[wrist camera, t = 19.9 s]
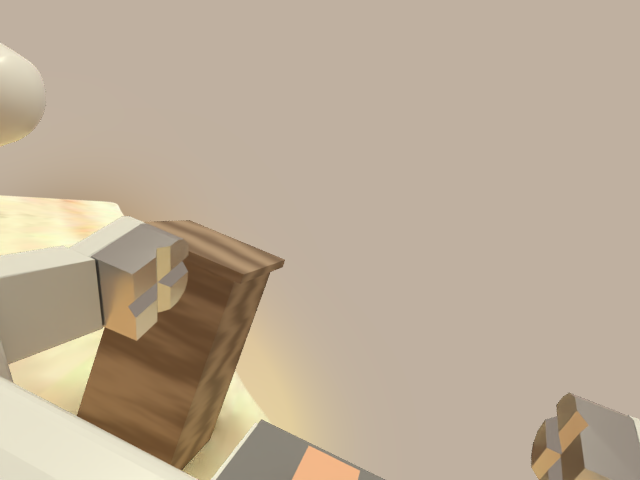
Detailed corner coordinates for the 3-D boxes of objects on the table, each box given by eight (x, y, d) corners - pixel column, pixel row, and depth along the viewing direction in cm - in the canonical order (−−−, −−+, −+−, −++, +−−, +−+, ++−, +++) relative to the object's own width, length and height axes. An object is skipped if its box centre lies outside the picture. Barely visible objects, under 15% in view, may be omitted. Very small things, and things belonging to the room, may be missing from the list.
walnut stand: (162, 503, 47) (243, 274, 44) (53, 444, 50) (122, 222, 47) (219, 438, 61) (285, 259, 58) (132, 394, 64) (189, 220, 60)
